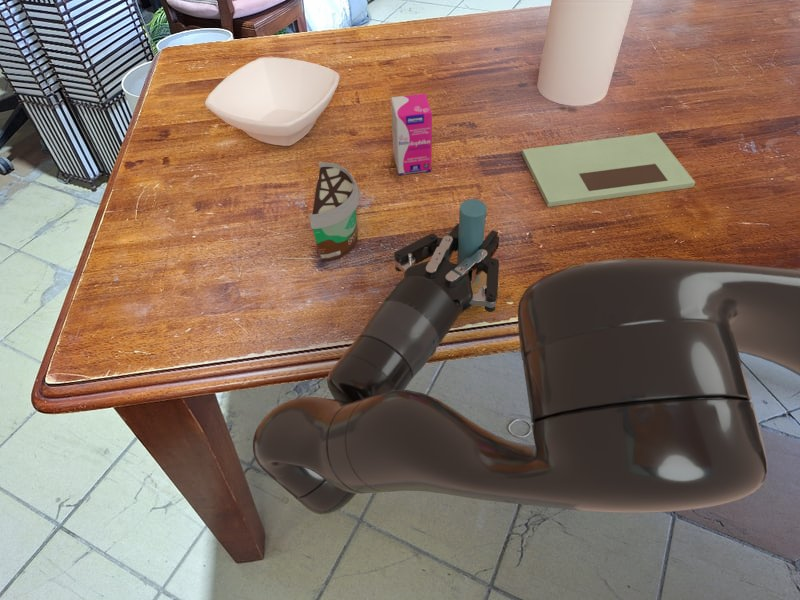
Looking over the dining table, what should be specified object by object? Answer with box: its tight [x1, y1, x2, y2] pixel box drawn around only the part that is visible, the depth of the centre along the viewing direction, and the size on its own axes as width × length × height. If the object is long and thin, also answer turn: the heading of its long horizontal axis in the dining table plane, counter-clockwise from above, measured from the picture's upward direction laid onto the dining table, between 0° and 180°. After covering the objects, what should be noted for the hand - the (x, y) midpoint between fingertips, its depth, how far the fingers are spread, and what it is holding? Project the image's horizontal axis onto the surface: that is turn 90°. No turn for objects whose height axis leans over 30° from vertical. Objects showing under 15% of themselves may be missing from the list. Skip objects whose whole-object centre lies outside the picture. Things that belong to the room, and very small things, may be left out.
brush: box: [456, 198, 501, 307], centre depth 64 cm, size 7×5×15 cm, turn 98°
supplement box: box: [390, 93, 433, 176], centre depth 86 cm, size 6×6×12 cm
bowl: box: [204, 56, 340, 147], centre depth 95 cm, size 21×21×9 cm
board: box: [521, 132, 696, 208], centre depth 87 cm, size 24×14×1 cm, turn 99°
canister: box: [536, 0, 634, 107], centre depth 96 cm, size 14×14×20 cm
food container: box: [308, 161, 361, 263], centre depth 76 cm, size 12×6×10 cm, turn 179°
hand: (480, 231), depth 65 cm, fingers closed on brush, 3 cm apart
